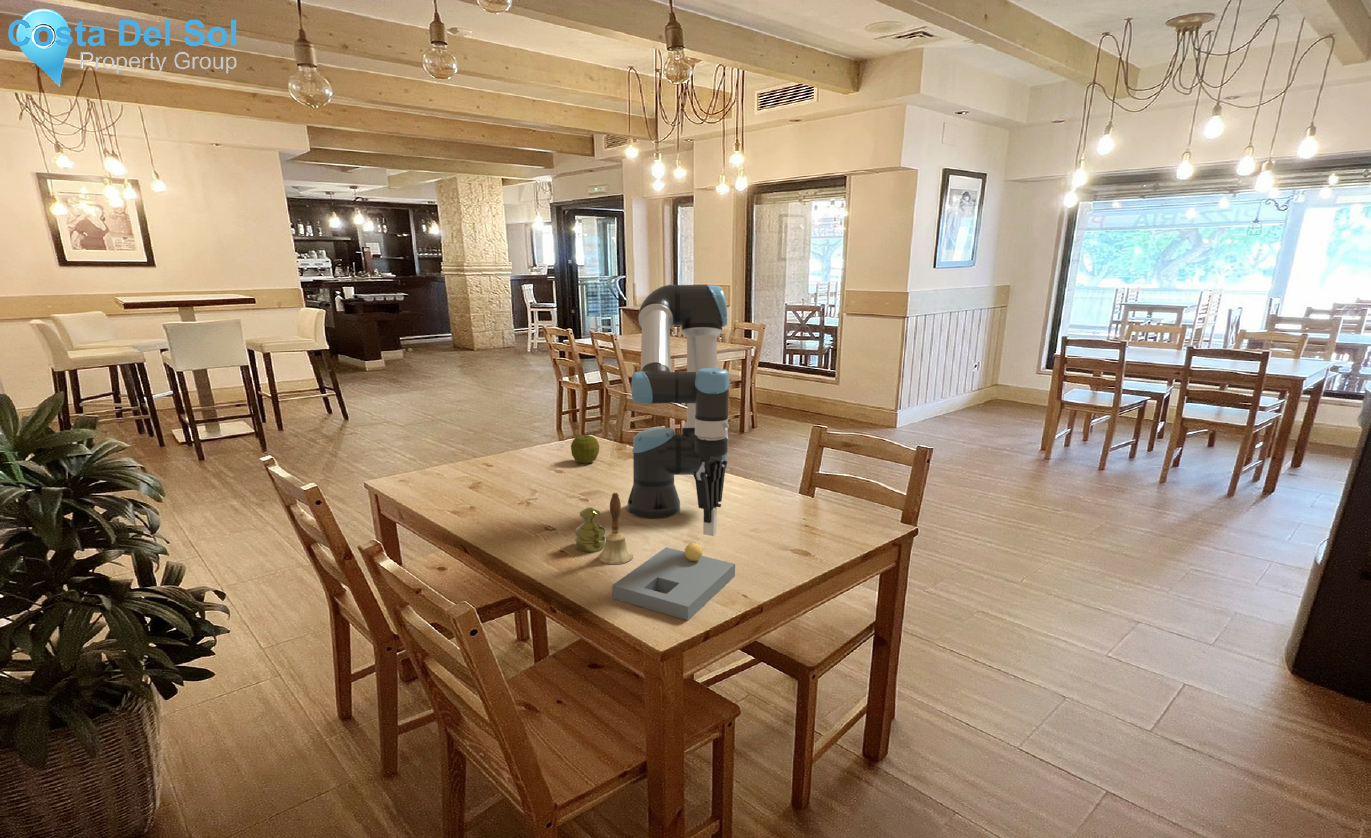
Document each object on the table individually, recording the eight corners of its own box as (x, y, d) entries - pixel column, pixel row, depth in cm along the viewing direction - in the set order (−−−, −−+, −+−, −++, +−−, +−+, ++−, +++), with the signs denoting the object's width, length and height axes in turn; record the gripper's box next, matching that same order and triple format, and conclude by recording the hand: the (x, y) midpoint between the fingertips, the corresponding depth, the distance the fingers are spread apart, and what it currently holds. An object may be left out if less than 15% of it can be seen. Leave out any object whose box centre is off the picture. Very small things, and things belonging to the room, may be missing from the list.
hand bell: (599, 550, 158) (597, 488, 155) (633, 549, 159) (632, 487, 156) (597, 565, 150) (595, 500, 147) (633, 564, 151) (632, 499, 148)
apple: (567, 465, 228) (566, 435, 226) (576, 458, 237) (575, 428, 235) (594, 467, 226) (594, 436, 224) (602, 459, 236) (602, 430, 233)
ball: (681, 561, 146) (681, 545, 145) (689, 555, 149) (690, 538, 148) (697, 565, 144) (697, 548, 143) (705, 558, 147) (705, 542, 146)
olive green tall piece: (592, 555, 156) (591, 516, 154) (569, 548, 160) (567, 509, 157) (611, 544, 162) (610, 506, 160) (588, 538, 166) (587, 501, 163)
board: (612, 598, 135) (612, 585, 134) (666, 559, 154) (666, 547, 153) (688, 620, 127) (688, 606, 126) (734, 576, 145) (735, 563, 145)
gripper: (713, 444, 140) (711, 546, 145) (738, 432, 151) (735, 528, 156) (683, 440, 143) (682, 540, 148) (709, 429, 155) (708, 522, 159)
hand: (709, 534), depth 152 cm, fingers closed
